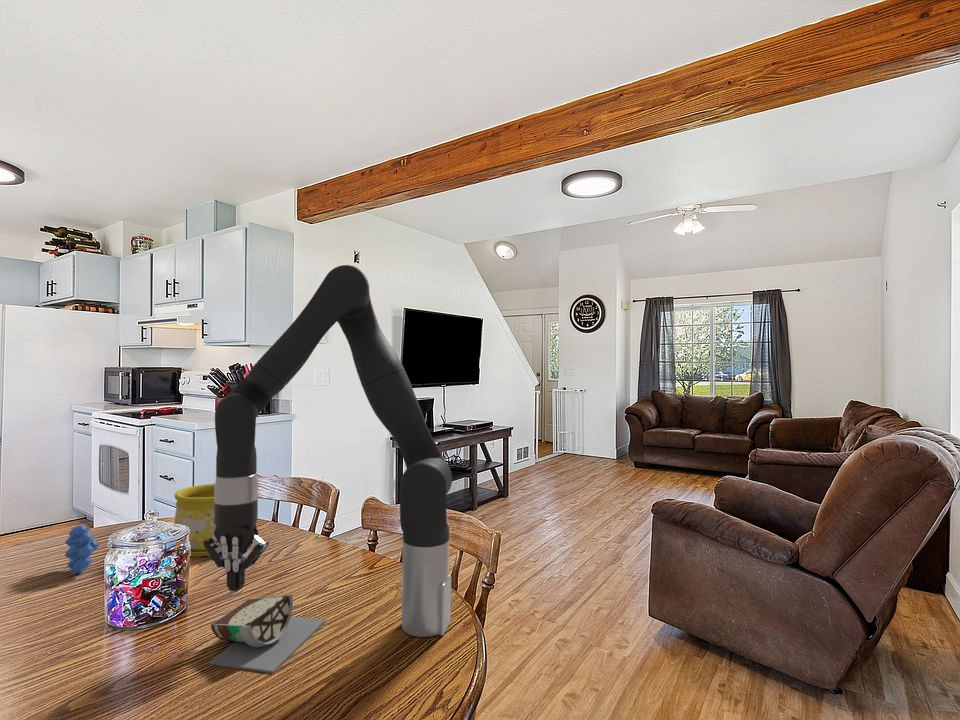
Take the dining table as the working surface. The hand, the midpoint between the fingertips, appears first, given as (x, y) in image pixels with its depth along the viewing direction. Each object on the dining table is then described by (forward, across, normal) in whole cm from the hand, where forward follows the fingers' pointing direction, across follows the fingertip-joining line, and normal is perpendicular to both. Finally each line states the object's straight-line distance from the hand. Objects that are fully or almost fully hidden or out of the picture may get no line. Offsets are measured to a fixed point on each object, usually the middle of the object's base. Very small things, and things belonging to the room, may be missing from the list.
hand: (235, 589), depth 100 cm
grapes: (+9, +56, -19) cm, 60 cm away
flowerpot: (+9, +37, -40) cm, 55 cm away
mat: (+9, -8, 0) cm, 12 cm away
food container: (+7, +1, 0) cm, 7 cm away
